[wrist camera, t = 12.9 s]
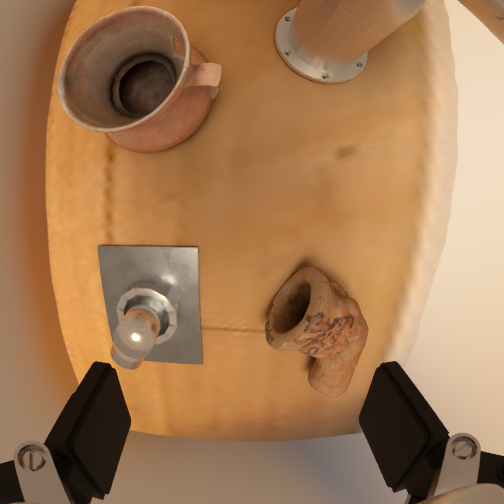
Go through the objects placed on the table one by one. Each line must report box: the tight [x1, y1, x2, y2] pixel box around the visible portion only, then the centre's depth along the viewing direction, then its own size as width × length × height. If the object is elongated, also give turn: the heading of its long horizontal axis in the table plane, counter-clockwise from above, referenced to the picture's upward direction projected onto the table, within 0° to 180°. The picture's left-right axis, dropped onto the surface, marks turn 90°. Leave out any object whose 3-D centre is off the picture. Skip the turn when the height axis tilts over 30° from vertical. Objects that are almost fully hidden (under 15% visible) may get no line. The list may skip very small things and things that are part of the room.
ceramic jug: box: [56, 6, 222, 153], centre depth 24 cm, size 18×14×14 cm
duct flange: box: [97, 245, 203, 365], centre depth 37 cm, size 18×14×3 cm
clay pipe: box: [265, 266, 368, 398], centre depth 37 cm, size 19×11×15 cm
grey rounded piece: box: [110, 295, 167, 369], centre depth 34 cm, size 7×5×8 cm, turn 148°
